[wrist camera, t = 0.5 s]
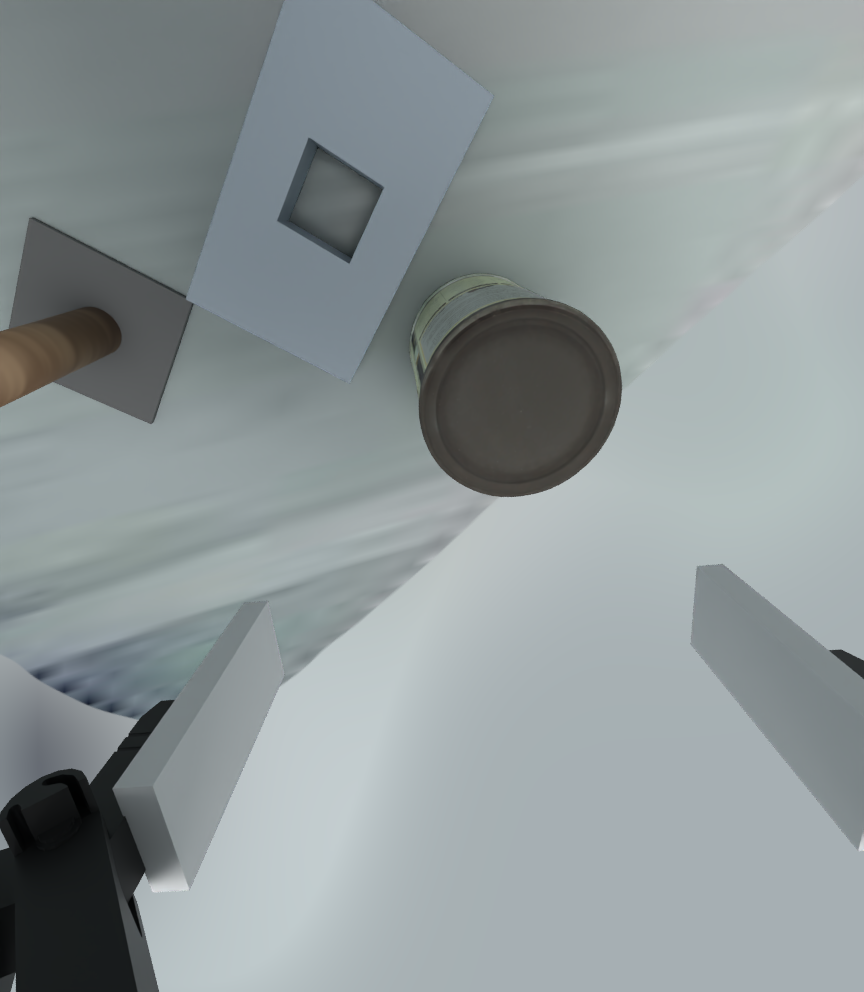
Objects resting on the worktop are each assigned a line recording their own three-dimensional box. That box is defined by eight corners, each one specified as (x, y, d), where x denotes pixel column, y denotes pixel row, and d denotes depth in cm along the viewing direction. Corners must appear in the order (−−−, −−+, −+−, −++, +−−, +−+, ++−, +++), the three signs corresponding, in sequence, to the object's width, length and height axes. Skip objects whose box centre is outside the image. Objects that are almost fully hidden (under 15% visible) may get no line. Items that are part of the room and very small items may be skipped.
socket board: (313, -20, 27) (302, -55, 24) (482, 110, 30) (494, 95, 27) (206, 291, 34) (185, 299, 31) (353, 368, 37) (349, 383, 34)
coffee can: (572, 342, 38) (662, 401, 25) (475, 436, 41) (513, 530, 29) (479, 236, 34) (533, 246, 21) (379, 350, 37) (376, 415, 25)
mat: (33, 217, 31) (29, 217, 31) (194, 301, 34) (192, 301, 34) (6, 358, 35) (2, 360, 35) (153, 422, 38) (151, 424, 38)
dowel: (76, 297, 33) (-67, 333, 23) (126, 321, 34) (12, 367, 24) (66, 340, 34) (-74, 393, 24) (115, 362, 35) (1, 423, 25)
